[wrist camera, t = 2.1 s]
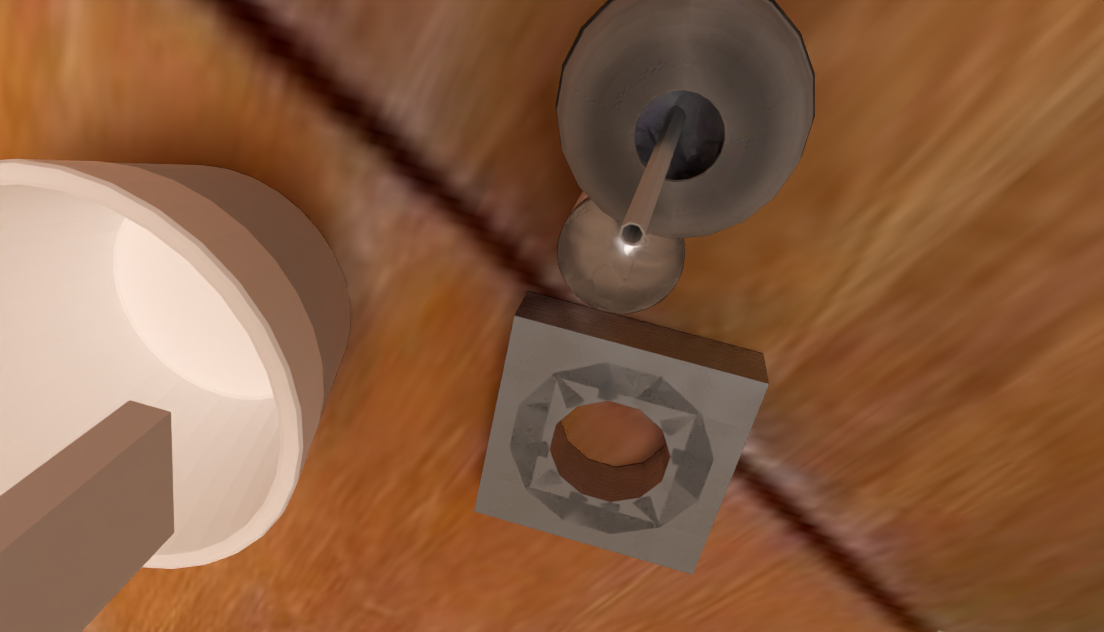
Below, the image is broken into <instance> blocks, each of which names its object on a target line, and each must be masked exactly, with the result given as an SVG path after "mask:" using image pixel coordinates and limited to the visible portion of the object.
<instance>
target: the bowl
mask: <svg viewBox="0 0 1104 632" xmlns="http://www.w3.org/2000/svg"><path fill="white" fill-rule="evenodd" d="M349 331H350V300H349V296H348V292H347V287H346V283H345V278H344V276H343V273H342V271H341V269H340V266H339V264H338V262H337V259H336V257H335V255H334V253H333V251H332V250H331V248H330V247H329V245H328V243H327V242H326V240H325V239H324V237H323V236H322V234H321V233H320V231H319V230H318V229H317V228H316V226H315V225H314V224H313V223H312V222H311V221H310V220H309V219H308V218H307V216H306V215H305V214H304V213H303V212H302V211H301V210H300V209H299V208H298V207H297V206H295V205H294V204H293V203H292V202H290V201H289V200H288V199H287V198H285V197H284V196H283V195H282V194H280V193H279V192H278V191H276V190H274V189H273V188H271V187H269V186H267V185H265V184H264V183H262V182H260V181H258V180H257V179H255V178H253V177H250V176H247V175H244V174H241V173H238V172H236V171H233V170H230V169H225V168H219V167H212V166H205V165H183V164H147V163H110V162H101V161H74V160H39V159H8V160H0V496H1V495H2V494H3V493H5V492H6V491H7V490H9V489H10V488H12V487H13V486H14V485H16V484H17V483H18V482H20V481H21V480H22V479H24V478H25V477H26V476H28V475H29V474H30V473H32V472H33V471H34V470H36V469H37V468H38V467H40V466H41V465H43V464H44V463H45V462H47V461H48V460H49V459H51V458H52V457H53V456H55V455H56V454H57V453H59V452H60V451H61V450H63V449H64V448H65V447H67V446H68V445H70V444H71V443H72V442H74V441H75V440H76V439H78V438H79V437H80V436H82V435H83V434H84V433H86V432H87V431H88V430H90V429H91V428H92V427H94V426H95V425H97V424H98V423H99V422H101V421H102V420H103V419H105V418H106V417H107V416H109V415H110V414H111V413H113V412H114V411H115V410H117V409H118V408H119V407H121V406H122V405H123V404H125V403H126V402H128V401H129V400H131V401H135V402H138V403H142V404H145V405H149V406H152V407H156V408H159V409H163V410H166V411H170V412H171V428H172V464H173V499H174V534H173V535H172V536H171V537H170V538H169V539H168V540H167V541H166V542H165V543H164V544H163V545H162V546H161V547H160V549H159V550H158V551H157V552H156V553H155V554H154V555H153V556H152V557H151V558H150V559H149V560H148V561H147V562H146V563H145V564H144V566H143V567H149V568H166V569H175V568H183V567H191V566H199V565H206V564H209V563H211V562H214V561H217V560H220V559H223V558H225V557H228V556H231V555H234V554H236V553H238V552H240V551H241V550H243V549H244V548H246V547H247V546H249V545H250V544H252V543H253V542H255V541H256V540H258V539H259V538H261V537H262V536H264V535H265V533H266V532H267V531H268V530H269V529H270V528H271V526H272V525H273V524H274V523H275V522H276V521H277V520H278V518H279V517H280V516H281V515H282V514H283V513H284V511H285V509H286V507H287V504H288V502H289V500H290V498H291V496H292V494H293V491H294V489H295V487H296V485H297V483H298V480H299V477H300V475H301V472H302V469H303V466H304V464H305V461H306V458H307V455H308V453H309V450H310V447H311V445H312V442H313V439H314V436H315V434H316V431H317V428H318V426H319V420H320V418H321V415H322V412H323V409H324V407H325V404H326V401H327V399H328V396H329V393H330V390H331V388H332V385H333V382H334V379H335V377H336V374H337V371H338V369H339V366H340V363H341V360H342V358H343V355H344V352H345V350H346V346H347V341H348V336H349Z"/></svg>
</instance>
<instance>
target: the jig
mask: <svg viewBox="0 0 1104 632" xmlns="http://www.w3.org/2000/svg"><path fill="white" fill-rule="evenodd" d="M768 385H769V382H768V376H767V371H766V366H765V360H764V355H763V354H762V353H759V352H755V351H751V350H747V349H744V348H740V347H736V346H732V345H729V344H725V343H721V342H717V341H714V340H710V339H706V338H702V337H698V336H695V335H691V334H687V333H683V332H680V331H676V330H672V329H668V328H665V327H661V326H657V325H653V324H650V323H646V322H642V321H638V320H635V319H631V318H627V317H623V316H620V315H616V314H612V313H608V312H604V311H601V310H597V309H593V308H589V307H586V306H582V305H578V304H574V303H571V302H567V301H563V300H559V299H556V298H552V297H548V296H544V295H541V294H537V293H533V292H529V291H527V293H526V295H525V297H524V299H523V301H522V303H521V304H520V306H519V308H518V310H517V312H516V314H515V316H514V321H513V325H512V330H511V335H510V340H509V345H508V350H507V355H506V359H505V364H504V369H503V374H502V379H501V384H500V389H499V393H498V398H497V403H496V408H495V413H494V418H493V423H492V427H491V432H490V437H489V442H488V447H487V452H486V457H485V461H484V466H483V471H482V476H481V481H480V486H479V491H478V495H477V500H476V505H475V510H474V511H475V512H478V513H482V514H485V515H488V516H492V517H495V518H499V519H502V520H506V521H509V522H513V523H516V524H520V525H523V526H526V527H530V528H533V529H537V530H540V531H544V532H547V533H551V534H554V535H558V536H561V537H565V538H568V539H571V540H575V541H578V542H582V543H585V544H589V545H592V546H596V547H599V548H603V549H606V550H610V551H613V552H616V553H620V554H623V555H627V556H630V557H634V558H637V559H641V560H644V561H648V562H651V563H654V564H658V565H661V566H665V567H668V568H672V569H675V570H679V571H682V572H686V573H689V574H693V573H694V570H695V568H696V565H697V563H698V560H699V558H700V555H701V553H702V550H703V548H704V545H705V543H706V540H707V538H708V535H709V533H710V530H711V528H712V525H713V523H714V520H715V518H716V515H717V513H718V510H719V508H720V505H721V503H722V500H723V498H724V495H725V493H726V490H727V488H728V485H729V483H730V480H731V478H732V475H733V473H734V470H735V468H736V465H737V463H738V460H739V458H740V455H741V453H742V450H743V448H744V445H745V443H746V440H747V438H748V435H749V433H750V430H751V428H752V425H753V423H754V420H755V418H756V415H757V413H758V410H759V408H760V405H761V403H762V400H763V397H764V395H765V392H766V390H767V387H768ZM603 401H611V402H615V403H618V404H622V405H626V406H629V407H633V408H637V409H640V410H641V411H642V412H643V413H644V414H645V415H646V416H647V417H649V418H650V419H651V420H652V421H653V422H654V423H655V424H656V425H657V426H659V427H660V428H661V429H662V430H663V433H664V437H665V440H666V443H665V446H664V447H663V448H662V449H661V450H659V451H658V452H657V453H656V454H654V455H653V456H652V457H650V458H649V459H648V460H646V461H645V462H644V463H639V464H633V465H626V466H620V467H614V466H610V465H606V464H603V463H599V462H596V461H592V460H589V459H587V458H586V457H585V456H584V455H583V454H582V453H581V452H579V451H578V450H577V449H576V448H575V447H574V446H572V445H571V444H570V443H569V442H568V440H567V438H566V435H565V432H564V429H563V426H562V424H561V420H562V419H563V418H564V417H565V416H566V415H568V414H569V413H570V412H571V411H572V410H573V409H575V408H576V407H577V406H582V405H587V404H592V403H598V402H603Z"/></svg>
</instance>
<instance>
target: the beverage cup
mask: <svg viewBox="0 0 1104 632" xmlns="http://www.w3.org/2000/svg"><path fill="white" fill-rule="evenodd" d="M556 112H557V120H558V127H559V134H560V142H561V146H562V151H563V154H564V156H565V158H566V160H567V162H568V164H569V166H570V169H571V171H572V173H573V175H574V177H575V179H576V181H577V183H578V186H579V187H580V188H581V189H582V190H583V191H584V192H585V193H586V194H587V196H588V197H589V198H590V199H591V200H592V201H593V202H594V203H595V204H596V205H597V206H598V207H599V209H600V210H601V211H602V212H603V213H605V214H606V215H608V216H610V217H612V218H613V219H615V220H617V221H619V222H620V223H622V226H621V229H620V232H619V236H620V238H621V240H622V241H623V243H624V244H627V245H630V246H636V245H638V244H640V243H642V242H643V239H644V237H645V234H646V233H647V234H652V235H656V236H661V237H665V238H670V239H673V238H685V237H698V236H708V235H711V234H713V233H716V232H718V231H721V230H724V229H726V228H729V227H731V226H734V225H736V224H739V223H742V222H744V221H745V220H746V219H748V218H749V217H750V216H751V215H753V214H754V213H755V212H757V211H758V210H759V209H760V208H762V207H763V206H764V205H766V204H767V203H768V202H769V201H771V200H772V199H773V198H774V197H775V196H776V195H777V193H778V192H779V190H780V189H781V187H782V186H783V185H784V183H785V182H786V180H787V179H788V178H789V176H790V175H791V173H792V172H793V170H794V169H795V168H796V166H797V165H798V163H799V161H800V158H801V157H802V154H803V151H804V147H805V144H806V141H807V138H808V135H809V132H810V129H811V126H812V123H813V120H814V117H815V73H814V70H813V67H812V64H811V62H810V59H809V56H808V53H807V50H806V47H805V44H804V41H803V38H802V35H801V33H800V31H799V30H798V29H797V28H796V26H795V25H794V24H793V23H792V21H791V20H790V19H789V18H788V16H787V15H786V14H785V13H784V12H783V10H782V9H781V8H780V7H779V5H778V4H777V3H776V2H775V0H608V1H607V2H606V3H605V4H604V5H603V6H602V7H601V8H600V9H599V10H598V11H597V12H596V13H595V14H594V15H593V16H592V17H591V18H590V19H589V20H588V21H587V22H586V23H585V24H584V25H583V26H582V27H581V29H580V31H579V33H578V35H577V37H576V39H575V41H574V43H573V45H572V47H571V49H570V51H569V53H568V55H567V57H566V59H565V61H564V63H563V65H562V70H561V76H560V82H559V88H558V94H557V100H556Z"/></svg>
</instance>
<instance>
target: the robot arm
mask: <svg viewBox="0 0 1104 632" xmlns="http://www.w3.org/2000/svg"><path fill="white" fill-rule="evenodd" d="M173 534H174V499H173V464H172V428H171V412H170V411H166V410H163V409H159V408H156V407H152V406H149V405H145V404H142V403H138V402H135V401H131V400H129V401H128V402H126V403H125V404H123V405H122V406H121V407H119V408H118V409H117V410H115V411H114V412H113V413H111V414H110V415H109V416H107V417H106V418H105V419H103V420H102V421H101V422H99V423H98V424H97V425H95V426H94V427H92V428H91V429H90V430H88V431H87V432H86V433H84V434H83V435H82V436H80V437H79V438H78V439H76V440H75V441H74V442H72V443H71V444H70V445H68V446H67V447H65V448H64V449H63V450H61V451H60V452H59V453H57V454H56V455H55V456H53V457H52V458H51V459H49V460H48V461H47V462H45V463H44V464H43V465H41V466H40V467H38V468H37V469H36V470H34V471H33V472H32V473H30V474H29V475H28V476H26V477H25V478H24V479H22V480H21V481H20V482H18V483H17V484H16V485H14V486H13V487H12V488H10V489H9V490H7V491H6V492H5V493H3V494H2V495H1V496H0V632H81V631H82V630H83V629H84V628H85V627H86V626H87V625H88V624H89V623H90V622H91V621H92V620H93V619H94V618H95V617H96V615H97V614H98V613H99V612H100V611H101V610H102V609H103V608H104V607H105V606H106V605H107V604H108V603H109V602H110V601H111V600H112V598H113V597H114V596H115V595H116V594H117V593H118V592H119V591H120V590H121V589H122V588H123V587H124V586H125V585H126V584H127V583H128V581H129V580H130V579H131V578H132V577H133V576H134V575H135V574H136V573H137V572H138V571H139V570H140V569H141V568H142V567H143V566H144V564H145V563H146V562H147V561H148V560H149V559H150V558H151V557H152V556H153V555H154V554H155V553H156V552H157V551H158V550H159V549H160V547H161V546H162V545H163V544H164V543H165V542H166V541H167V540H168V539H169V538H170V537H171V536H172V535H173ZM938 632H943V631H939V630H938Z"/></svg>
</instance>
